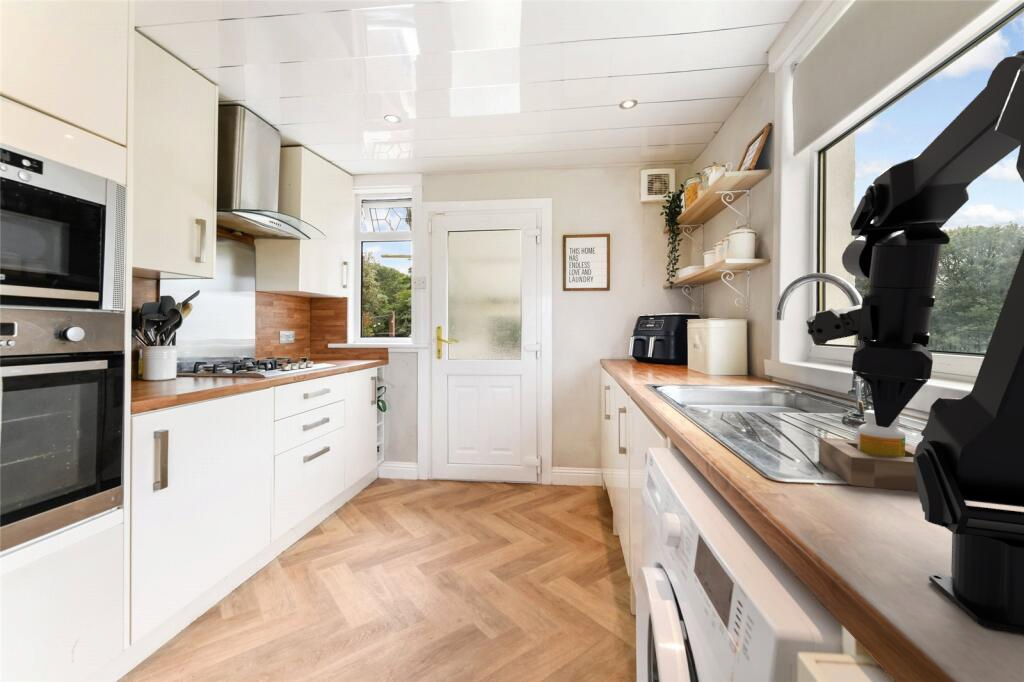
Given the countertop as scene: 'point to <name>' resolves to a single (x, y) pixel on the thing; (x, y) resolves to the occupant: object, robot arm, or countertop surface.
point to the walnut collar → (868, 465)
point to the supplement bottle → (880, 437)
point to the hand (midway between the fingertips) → (884, 413)
